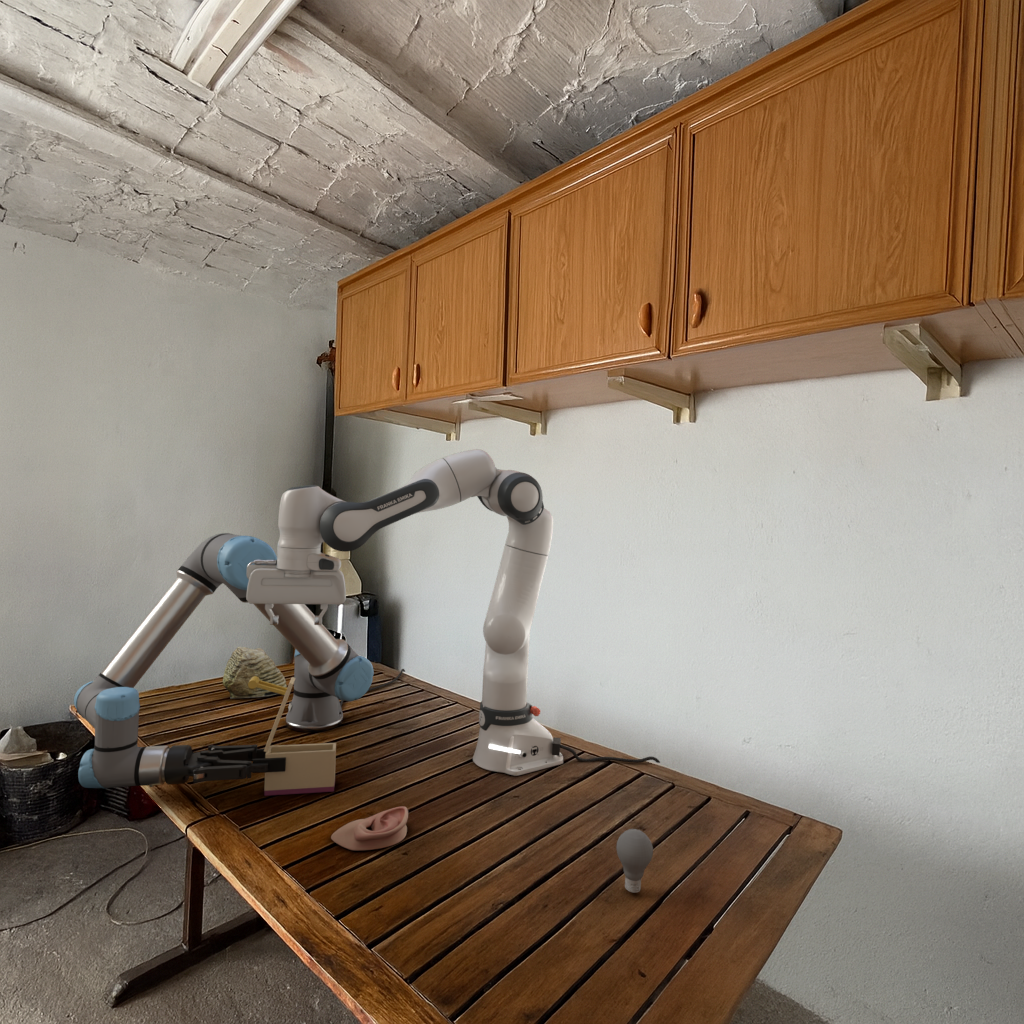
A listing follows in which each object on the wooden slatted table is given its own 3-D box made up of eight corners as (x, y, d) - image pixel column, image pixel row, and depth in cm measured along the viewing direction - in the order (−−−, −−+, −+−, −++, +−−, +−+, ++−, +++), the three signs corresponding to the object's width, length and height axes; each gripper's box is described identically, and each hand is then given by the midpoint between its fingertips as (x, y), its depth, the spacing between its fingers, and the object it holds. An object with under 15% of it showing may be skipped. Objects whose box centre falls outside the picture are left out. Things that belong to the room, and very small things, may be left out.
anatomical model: (323, 824, 115) (352, 795, 126) (322, 845, 115) (351, 815, 126) (392, 835, 112) (415, 805, 123) (391, 857, 112) (414, 825, 123)
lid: (295, 677, 138) (255, 666, 136) (293, 684, 134) (252, 672, 132) (270, 744, 138) (230, 733, 136) (267, 752, 133) (225, 741, 131)
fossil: (218, 695, 195) (220, 647, 195) (278, 685, 208) (279, 640, 207) (228, 703, 189) (230, 653, 188) (289, 692, 201) (290, 645, 201)
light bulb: (610, 879, 108) (613, 822, 108) (644, 879, 109) (647, 822, 109) (619, 902, 102) (622, 840, 102) (655, 901, 103) (658, 840, 103)
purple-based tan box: (334, 781, 141) (336, 742, 141) (333, 791, 136) (335, 750, 136) (267, 786, 138) (268, 745, 137) (264, 795, 133) (265, 754, 133)
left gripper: (179, 765, 139) (290, 759, 145) (153, 803, 122) (281, 795, 128) (180, 731, 139) (292, 727, 145) (154, 764, 122) (282, 758, 128)
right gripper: (244, 560, 130) (241, 627, 130) (346, 562, 135) (344, 627, 135) (249, 557, 136) (247, 621, 137) (347, 559, 141) (345, 621, 141)
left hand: (286, 759), depth 136 cm, fingers closed on purple-based tan box, 4 cm apart
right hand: (296, 624), depth 136 cm, fingers open, 8 cm apart
